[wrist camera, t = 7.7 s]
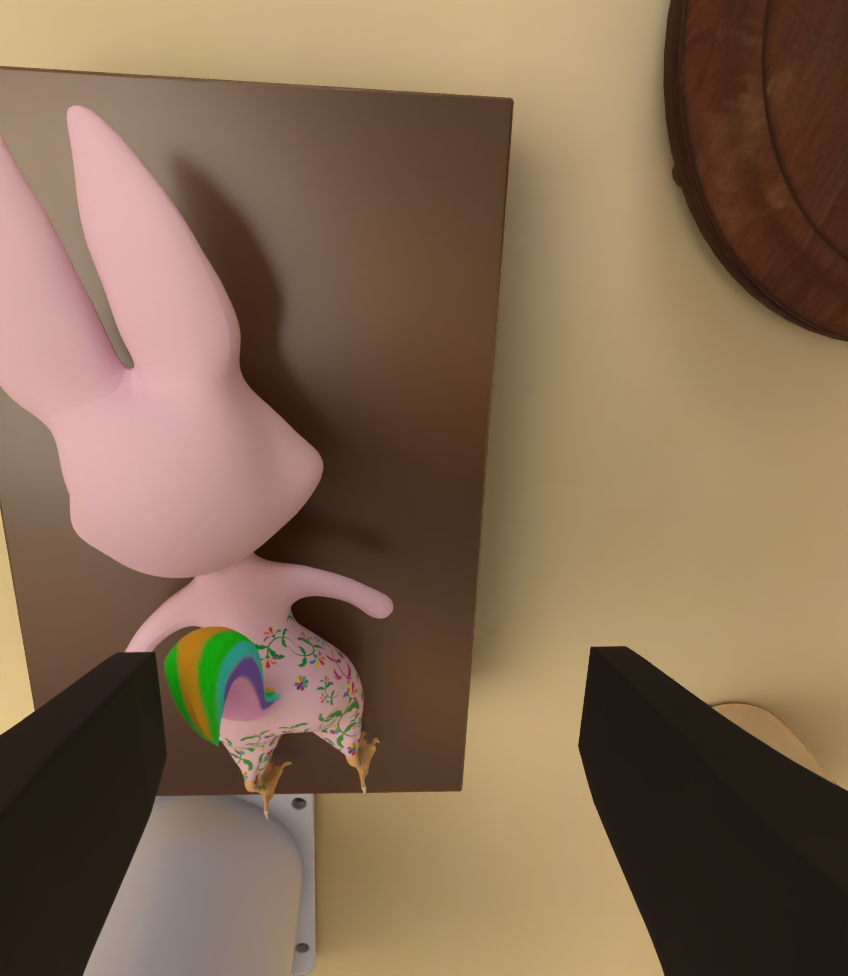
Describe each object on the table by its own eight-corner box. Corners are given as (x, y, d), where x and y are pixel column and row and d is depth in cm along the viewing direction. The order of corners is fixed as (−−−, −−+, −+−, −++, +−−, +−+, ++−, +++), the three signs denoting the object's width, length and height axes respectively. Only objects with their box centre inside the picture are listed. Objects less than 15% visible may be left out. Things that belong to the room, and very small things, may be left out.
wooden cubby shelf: (444, 684, 24) (462, 792, 19) (116, 685, 23) (48, 799, 18) (478, 136, 18) (514, 97, 13) (45, 111, 17) (-78, 59, 13)
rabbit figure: (427, 681, 19) (239, 71, 12) (460, 890, 14) (162, 37, 7) (213, 734, 19) (-104, 162, 12) (166, 962, 14) (-440, 197, 7)
